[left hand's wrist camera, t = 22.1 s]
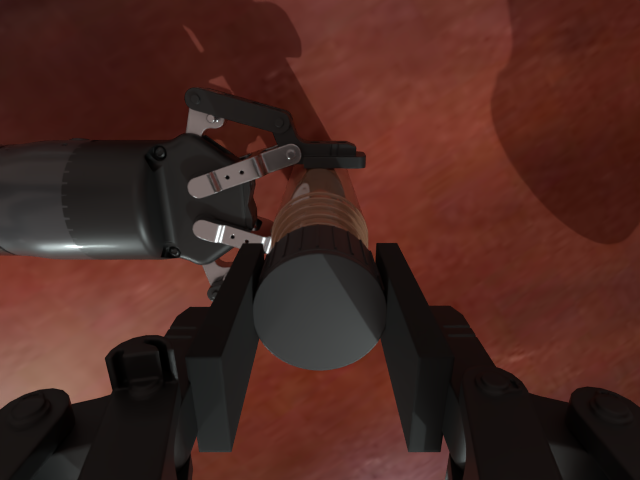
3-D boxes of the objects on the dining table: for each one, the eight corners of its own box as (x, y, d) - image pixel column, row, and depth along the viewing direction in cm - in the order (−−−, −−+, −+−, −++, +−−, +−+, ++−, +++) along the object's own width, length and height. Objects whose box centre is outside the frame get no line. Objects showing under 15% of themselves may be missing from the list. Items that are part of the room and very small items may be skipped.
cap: (240, 289, 15) (224, 329, 12) (305, 199, 13) (302, 224, 11) (331, 344, 16) (334, 392, 13) (400, 265, 14) (417, 301, 12)
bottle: (281, 163, 30) (225, 269, 12) (335, 140, 30) (360, 216, 12) (304, 214, 32) (284, 377, 14) (356, 194, 31) (407, 335, 13)
